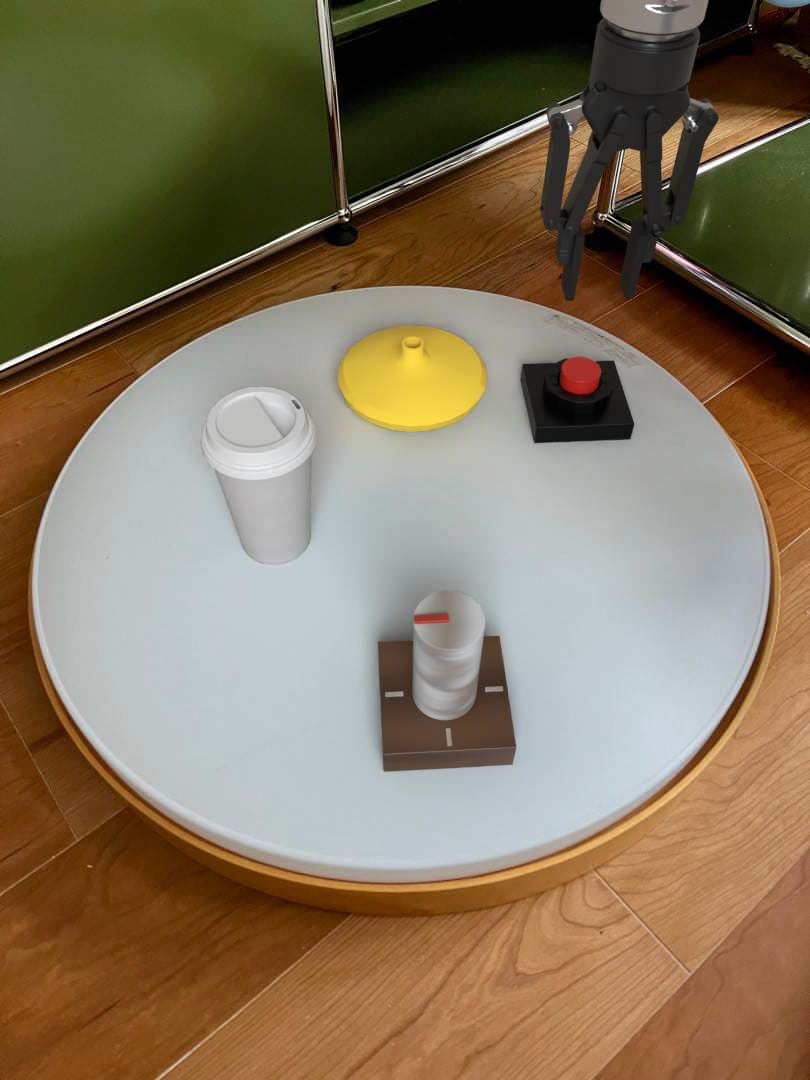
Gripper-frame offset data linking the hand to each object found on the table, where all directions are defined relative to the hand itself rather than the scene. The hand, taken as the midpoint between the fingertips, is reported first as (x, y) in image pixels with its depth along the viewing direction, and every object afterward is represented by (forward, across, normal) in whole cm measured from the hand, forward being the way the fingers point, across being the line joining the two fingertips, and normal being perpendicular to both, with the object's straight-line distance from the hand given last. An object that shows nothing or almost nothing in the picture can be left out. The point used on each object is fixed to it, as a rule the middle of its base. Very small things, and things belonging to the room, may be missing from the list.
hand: (596, 290), depth 84 cm
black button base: (+15, 0, 0) cm, 15 cm away
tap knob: (+12, -17, -35) cm, 41 cm away
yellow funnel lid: (+15, -17, +3) cm, 23 cm away
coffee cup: (+15, -31, -16) cm, 38 cm away
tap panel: (+15, -17, -35) cm, 42 cm away
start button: (+11, 0, 0) cm, 11 cm away
